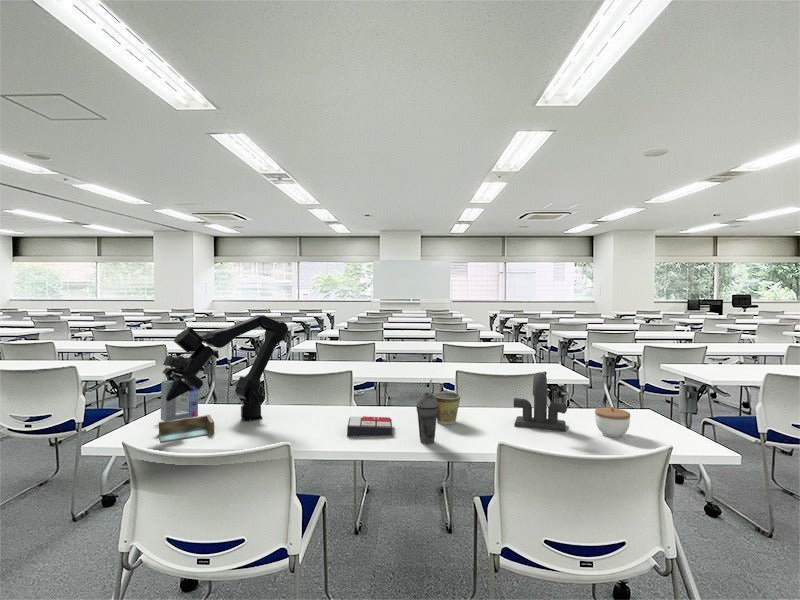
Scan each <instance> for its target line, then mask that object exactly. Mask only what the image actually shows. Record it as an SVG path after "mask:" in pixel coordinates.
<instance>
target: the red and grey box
mask: <svg viewBox="0 0 800 600" xmlns="http://www.w3.org/2000/svg"><path fill="white" fill-rule="evenodd" d="M348 418H349V419H348V423H347V430H346V437H364V436H365V437H392V436H393V423H392V422H393V421H392V418H391V417H389V416H387V417H386V416H366V415H365V416H362V417H361V416H350V417H348Z"/></svg>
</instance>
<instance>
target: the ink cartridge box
mask: <svg viewBox="0 0 800 600" xmlns="http://www.w3.org/2000/svg"><path fill="white" fill-rule="evenodd" d="M194 387H195V386H192V387H191V388H192V389H193V390H190V391H188V392H186V393H184V394H182V395H180V396H178V397H176V412H180V411H186V412H189V417H188V418H191V417H198V416H199V390H198V389H195V388H194Z"/></svg>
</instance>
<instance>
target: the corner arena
mask: <svg viewBox="0 0 800 600" xmlns="http://www.w3.org/2000/svg"><path fill="white" fill-rule="evenodd" d="M209 434H210V435H215V421H214V420H213V417H212V416H211V415H210V414H207V415H206V414H205V415H198V416H195V417H191V418H183V419H178V420H173V421H167V422H165V421H163V420H162V421H158V435H159V436H160V437H159V441H160V443H166V441H167V442H172V441H179V440H186V439H192V438H197V437H203V435H204V436H209Z"/></svg>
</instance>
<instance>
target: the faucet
mask: <svg viewBox="0 0 800 600" xmlns="http://www.w3.org/2000/svg"><path fill="white" fill-rule="evenodd" d="M547 377H548V376H547V375H546V374H545V373H544V372H536V373H535V374H534V375H533V377H532V396H533V406H532V403H531V402H530V401H529V400H528V399H525V398H519V397H514V398H513V408H521V409H522V416H521V415H518V416H516V417H515V420H514V423H513V424H514V427H516V428H524V429H533V430H542V431H543V430H544V431H552V432H554V431H555V432H563V433H566V430H567V426H566V423H567V422H566V421H565V420H563V419H559V417H558V416H559V415H558V413H560V414H566V413H567V410H568V405H567V404H565V403H562V402H557V401H555V402H554V401H553V402H551V403H550V404H549V405H548V379H547ZM547 407H548V408H547Z"/></svg>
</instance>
